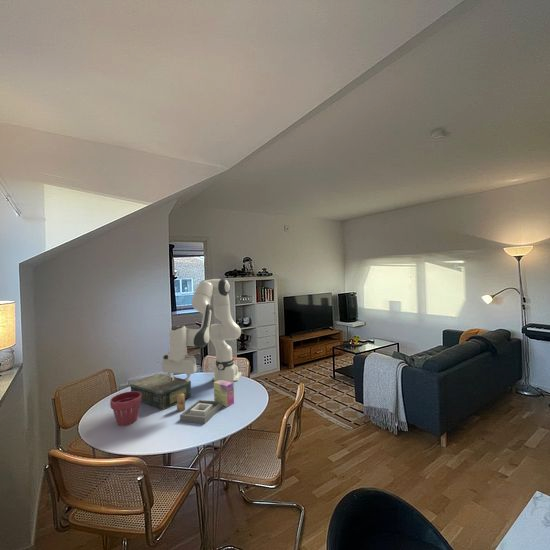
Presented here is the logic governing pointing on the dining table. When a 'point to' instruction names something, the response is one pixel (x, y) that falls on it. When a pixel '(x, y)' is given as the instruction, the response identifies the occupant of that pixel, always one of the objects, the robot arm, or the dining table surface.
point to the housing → (201, 411)
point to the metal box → (161, 390)
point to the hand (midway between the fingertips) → (179, 380)
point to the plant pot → (126, 407)
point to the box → (224, 392)
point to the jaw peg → (180, 402)
